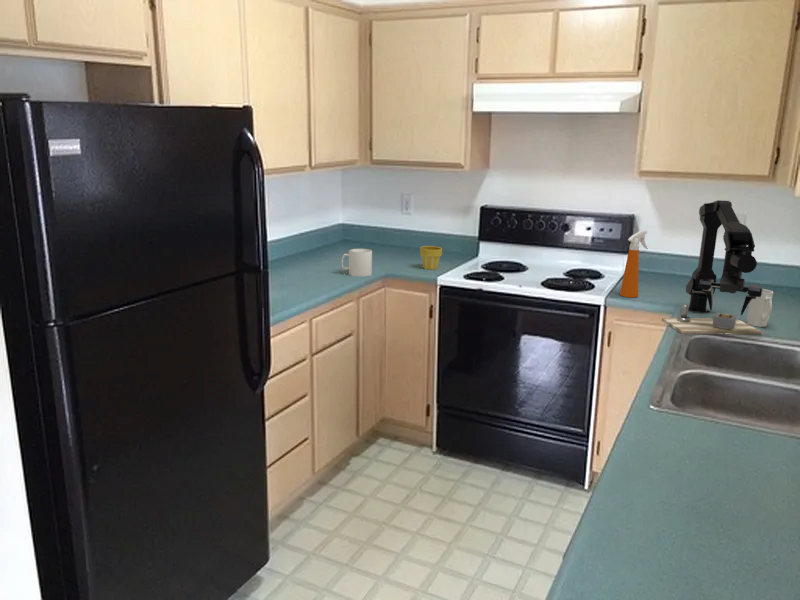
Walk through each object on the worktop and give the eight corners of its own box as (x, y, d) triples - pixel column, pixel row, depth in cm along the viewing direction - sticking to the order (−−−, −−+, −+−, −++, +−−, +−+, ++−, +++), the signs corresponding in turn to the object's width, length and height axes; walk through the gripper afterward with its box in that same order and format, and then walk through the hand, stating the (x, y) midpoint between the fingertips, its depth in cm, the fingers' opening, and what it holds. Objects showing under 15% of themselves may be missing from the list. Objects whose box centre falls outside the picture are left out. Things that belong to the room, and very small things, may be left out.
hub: (712, 325, 222) (714, 312, 221) (727, 325, 223) (729, 312, 222) (720, 329, 217) (722, 316, 216) (735, 329, 218) (737, 316, 217)
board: (661, 320, 230) (662, 318, 230) (736, 321, 231) (736, 318, 231) (681, 333, 215) (681, 330, 215) (761, 334, 217) (761, 331, 217)
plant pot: (445, 267, 311) (446, 247, 309) (434, 271, 303) (435, 250, 300) (426, 265, 316) (427, 245, 314) (415, 268, 308) (415, 247, 306)
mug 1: (341, 276, 288) (341, 252, 285) (341, 271, 298) (341, 248, 295) (372, 276, 289) (372, 252, 286) (371, 271, 299) (371, 248, 296)
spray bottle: (648, 296, 265) (656, 231, 259) (628, 298, 261) (636, 232, 254) (635, 292, 271) (642, 228, 265) (615, 294, 267) (622, 230, 260)
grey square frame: (714, 320, 224) (716, 312, 223) (735, 324, 221) (737, 315, 220) (712, 325, 219) (713, 316, 218) (733, 328, 215) (735, 319, 215)
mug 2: (741, 321, 232) (747, 288, 229) (760, 321, 232) (766, 288, 229) (757, 329, 222) (763, 295, 219) (777, 330, 222) (783, 295, 219)
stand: (674, 318, 229) (676, 303, 228) (686, 318, 229) (688, 303, 228) (680, 322, 225) (682, 306, 224) (692, 322, 225) (694, 306, 224)
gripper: (698, 266, 213) (692, 313, 217) (763, 274, 203) (755, 322, 207) (703, 261, 222) (697, 306, 226) (766, 268, 212) (758, 315, 216)
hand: (726, 312), depth 219 cm, fingers open, 9 cm apart
